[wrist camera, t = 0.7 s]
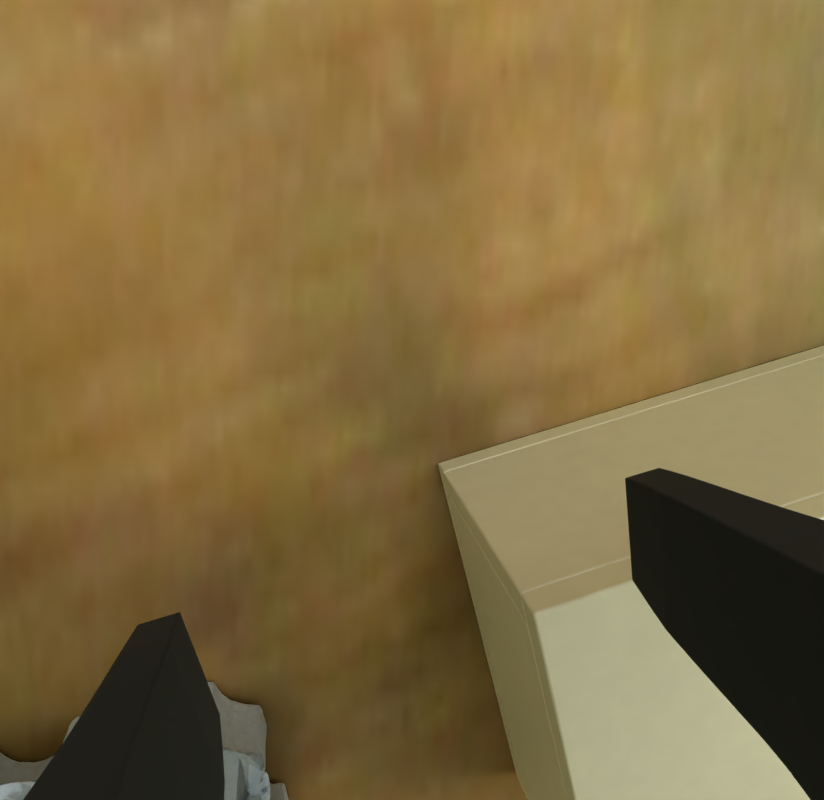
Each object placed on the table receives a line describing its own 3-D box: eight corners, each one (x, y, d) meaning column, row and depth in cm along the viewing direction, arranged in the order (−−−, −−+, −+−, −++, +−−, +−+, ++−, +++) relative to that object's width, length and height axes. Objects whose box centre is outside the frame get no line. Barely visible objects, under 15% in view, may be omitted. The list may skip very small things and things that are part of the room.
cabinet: (854, 335, 24) (1161, 403, 15) (870, 646, 27) (1124, 833, 19) (437, 462, 22) (533, 614, 14) (515, 773, 26) (627, 1037, 18)
